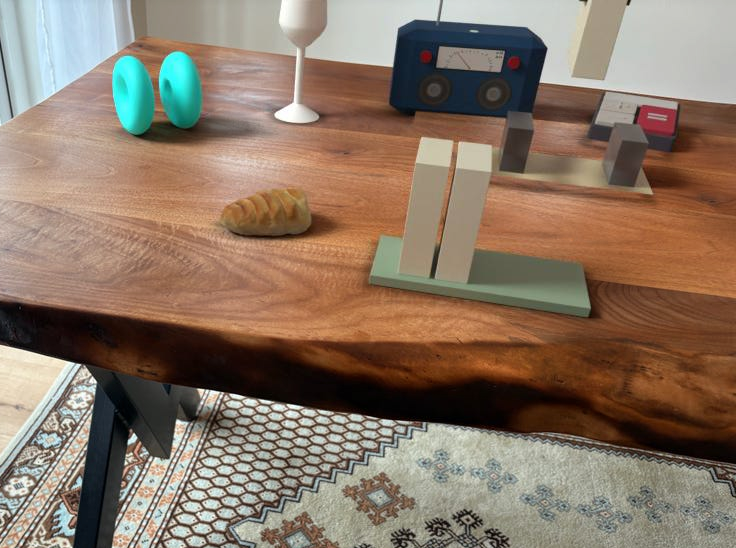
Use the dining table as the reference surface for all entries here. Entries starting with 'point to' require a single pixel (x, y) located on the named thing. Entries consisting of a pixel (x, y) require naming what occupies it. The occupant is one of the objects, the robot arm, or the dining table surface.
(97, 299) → the dining table surface
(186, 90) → the donuts
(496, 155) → the grey bookends
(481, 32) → the radio
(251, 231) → the pastry
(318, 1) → the champagne flute
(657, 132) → the calculator
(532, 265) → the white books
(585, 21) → the cream book
